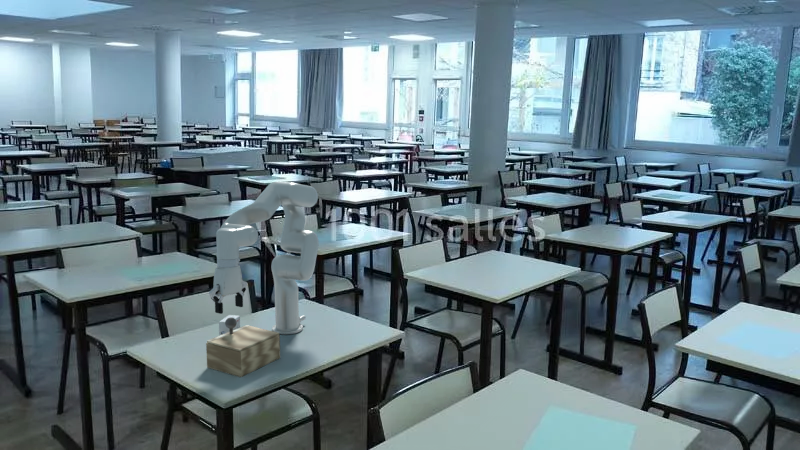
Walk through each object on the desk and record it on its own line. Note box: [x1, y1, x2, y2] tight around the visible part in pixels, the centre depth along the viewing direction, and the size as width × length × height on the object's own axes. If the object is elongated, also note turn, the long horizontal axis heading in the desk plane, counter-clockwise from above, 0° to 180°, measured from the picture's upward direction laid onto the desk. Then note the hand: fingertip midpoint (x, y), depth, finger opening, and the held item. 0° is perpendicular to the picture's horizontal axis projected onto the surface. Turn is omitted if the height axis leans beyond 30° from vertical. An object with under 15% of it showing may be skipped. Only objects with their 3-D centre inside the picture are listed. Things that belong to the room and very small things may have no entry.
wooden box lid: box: [206, 317, 280, 351], centre depth 223 cm, size 20×16×7 cm
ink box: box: [218, 314, 241, 336], centre depth 239 cm, size 9×5×12 cm, turn 168°
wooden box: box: [205, 334, 281, 378], centre depth 225 cm, size 20×16×9 cm
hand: (229, 309), depth 225 cm, fingers open, 9 cm apart
